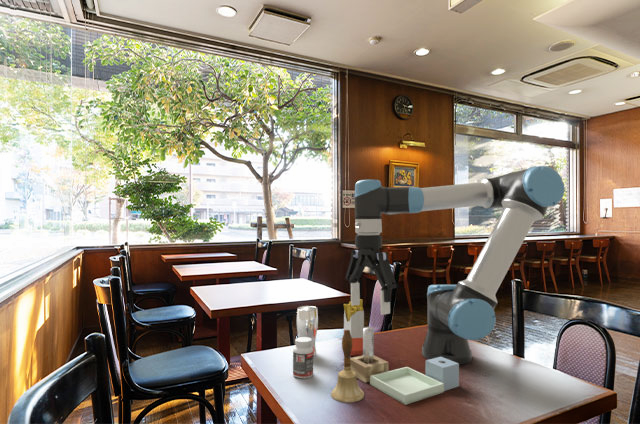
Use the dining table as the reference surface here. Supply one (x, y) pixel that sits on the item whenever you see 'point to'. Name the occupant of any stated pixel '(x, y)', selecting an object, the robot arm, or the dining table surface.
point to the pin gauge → (368, 345)
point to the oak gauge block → (368, 367)
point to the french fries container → (355, 326)
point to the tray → (406, 385)
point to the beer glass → (307, 323)
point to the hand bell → (347, 376)
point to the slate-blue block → (443, 371)
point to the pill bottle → (303, 358)
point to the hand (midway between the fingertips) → (369, 309)
